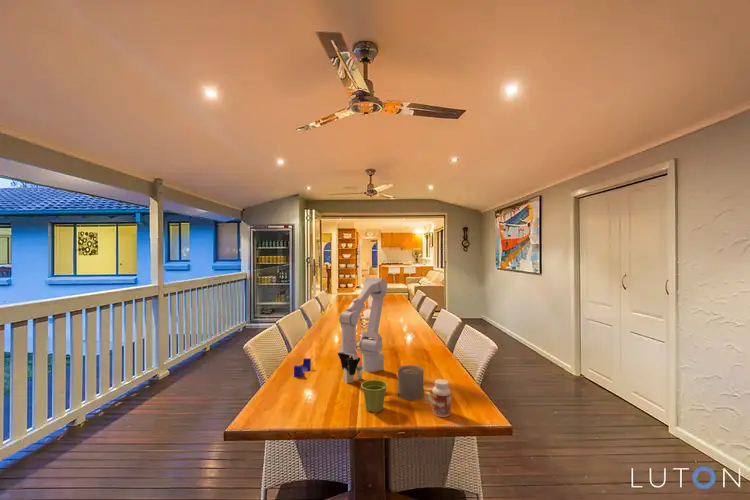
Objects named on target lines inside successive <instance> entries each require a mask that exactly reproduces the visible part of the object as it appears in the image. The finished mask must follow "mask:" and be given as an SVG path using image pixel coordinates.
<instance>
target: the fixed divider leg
mask: <svg viewBox="0 0 750 500" xmlns="http://www.w3.org/2000/svg"><path fill="white" fill-rule="evenodd" d="M356 381H363V365H362V366H361V365H357V368H356Z"/></svg>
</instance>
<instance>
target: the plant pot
mask: <svg viewBox="0 0 750 500" xmlns="http://www.w3.org/2000/svg"><path fill="white" fill-rule="evenodd" d="M360 386H361V388H362V391H363V396H364V397H363V398H364V403H365V404H364V405H365V410H366V411H367V412H372V413H380V412H382V410H384V405H385V403H384V402H385V397H386V391H387V388H388V383H387V382H385V381H384V380H380V379H370V380H365V381H363V382H362V383H361V385H360Z"/></svg>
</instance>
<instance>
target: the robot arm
mask: <svg viewBox="0 0 750 500" xmlns="http://www.w3.org/2000/svg"><path fill="white" fill-rule="evenodd" d="M387 289H388V283H387V280H386V278H385V277H382V278H381V277H369V276H368V277H366V278H365V279H364V281H363V287H362V289H361V291H360V293H359V295H358V296H357V298H354V299H352V301H351V303H350V304H349V306H348V307H347V308H346V310H343V311H341V313H340V314H339V318H338V320H339V321H338V322H339V323H340V328H341V346H339V351H338V352H337V355H338V357H339V360H340V364H341V369H342V370H343V371H344V367H349V374H350V375H354V376H355V374H356V373H357V369H356V368H357V366H359V362H360V361H361V358H360V357H359V354H358V351H357V350H356V340H357V339H356V326H357V324H358V323H359V319H360V314H361V313H362V311H363V310H364V308H365V303H366V301H367V299H369V297H371V298H372V299H371V306H370V312H369V317H368V322H367V328H366V331H365V332H363V333H362V334H361V337H360V340H359V342H358V348H359V350H360V351H361V354H362V367H363V369H362V372H367V373H375V372H379V371H384V369H385V367H384V366H385V363H384V361H385V358H384V354H383V352H382V349H383V337H382V335H380V333H379V327H380V321H381V315H382V309H383V304H384V299H385V297H386V296H387Z"/></svg>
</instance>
